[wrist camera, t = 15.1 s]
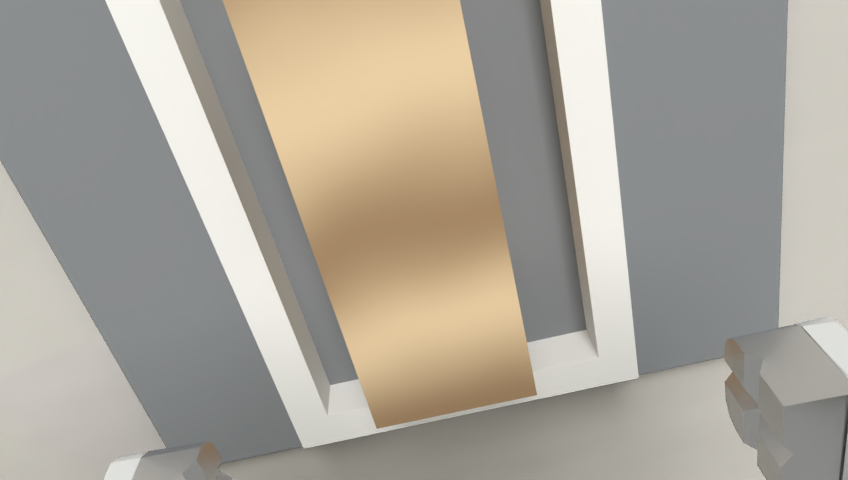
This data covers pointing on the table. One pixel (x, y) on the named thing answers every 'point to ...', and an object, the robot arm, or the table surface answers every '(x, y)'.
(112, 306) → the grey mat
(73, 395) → the table surface
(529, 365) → the tan wooden bar
